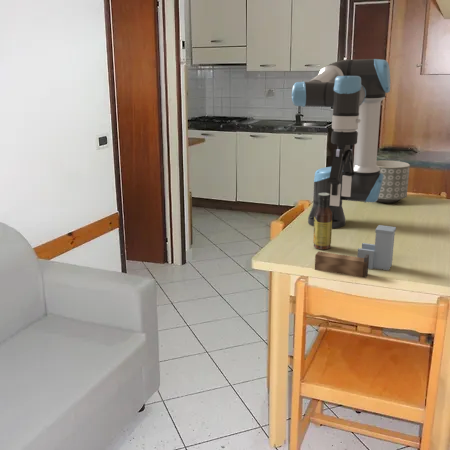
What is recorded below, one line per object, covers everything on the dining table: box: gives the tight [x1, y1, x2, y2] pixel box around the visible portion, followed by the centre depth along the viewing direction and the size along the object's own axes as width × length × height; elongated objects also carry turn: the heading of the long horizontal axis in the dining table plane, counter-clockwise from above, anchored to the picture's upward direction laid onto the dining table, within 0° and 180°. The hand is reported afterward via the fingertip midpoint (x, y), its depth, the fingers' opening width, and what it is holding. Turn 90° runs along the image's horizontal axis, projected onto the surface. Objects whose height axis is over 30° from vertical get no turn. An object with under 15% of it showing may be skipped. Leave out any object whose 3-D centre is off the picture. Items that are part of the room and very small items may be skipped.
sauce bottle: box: [312, 193, 333, 251], centre depth 187 cm, size 6×6×20 cm
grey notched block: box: [356, 224, 397, 271], centre depth 170 cm, size 10×7×13 cm
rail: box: [314, 251, 369, 279], centre depth 166 cm, size 16×4×6 cm, turn 64°
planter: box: [376, 159, 411, 204], centre depth 253 cm, size 19×19×18 cm
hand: (340, 200), depth 161 cm, fingers open, 13 cm apart
